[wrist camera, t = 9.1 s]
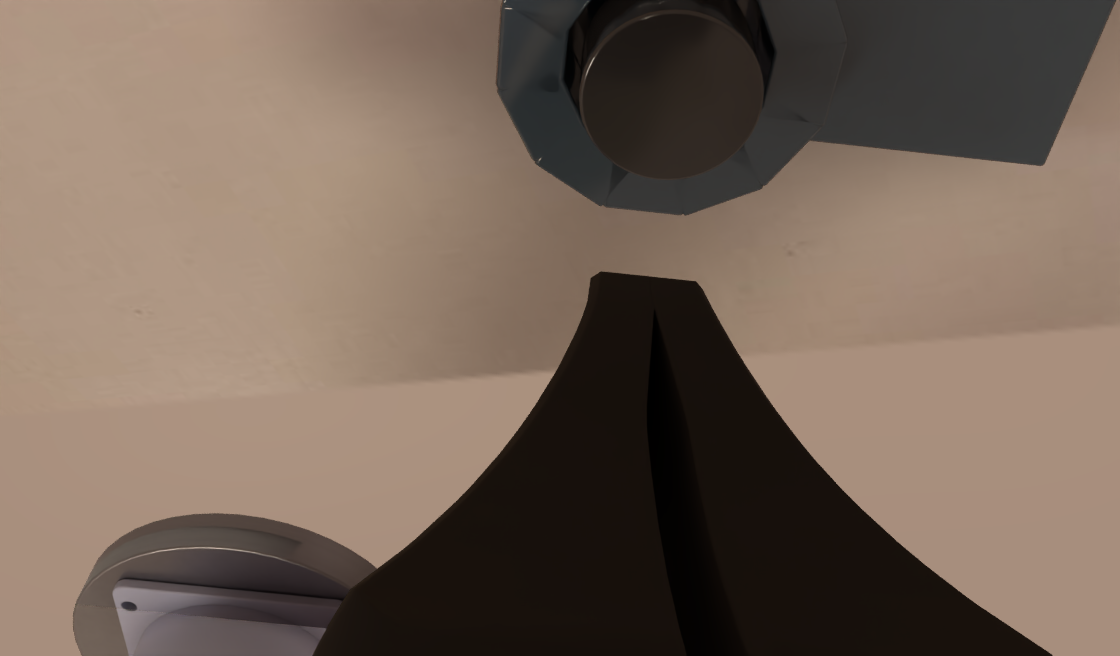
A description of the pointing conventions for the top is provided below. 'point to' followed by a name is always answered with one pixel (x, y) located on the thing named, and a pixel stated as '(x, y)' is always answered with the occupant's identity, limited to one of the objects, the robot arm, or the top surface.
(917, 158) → the top surface
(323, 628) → the robot arm
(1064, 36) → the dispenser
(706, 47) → the dark brown short cylinder
